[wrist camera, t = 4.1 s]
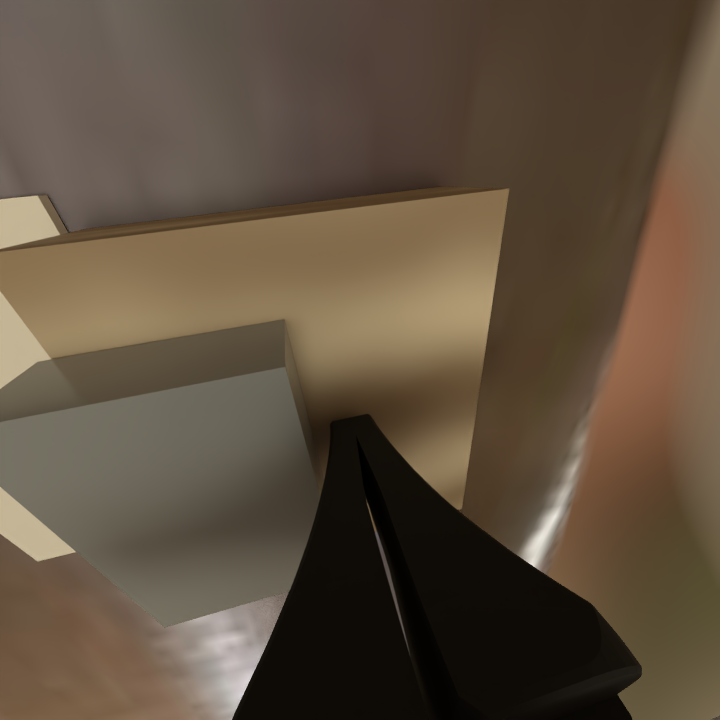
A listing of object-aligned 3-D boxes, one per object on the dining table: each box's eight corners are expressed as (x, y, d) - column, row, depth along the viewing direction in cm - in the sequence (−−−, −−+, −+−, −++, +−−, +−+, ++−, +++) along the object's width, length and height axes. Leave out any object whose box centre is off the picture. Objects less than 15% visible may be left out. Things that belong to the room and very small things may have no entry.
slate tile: (331, 511, 13) (341, 575, 11) (185, 550, 12) (164, 627, 10) (284, 319, 8) (284, 366, 6) (37, 361, 7) (-62, 433, 5)
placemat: (225, 509, 17) (223, 515, 17) (42, 553, 16) (37, 561, 16) (46, 195, 9) (37, 195, 9) (-364, 237, 8) (-393, 240, 7)
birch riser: (429, 448, 18) (461, 508, 15) (228, 496, 17) (213, 575, 13) (441, 186, 11) (509, 188, 8) (84, 229, 9) (-27, 255, 6)
